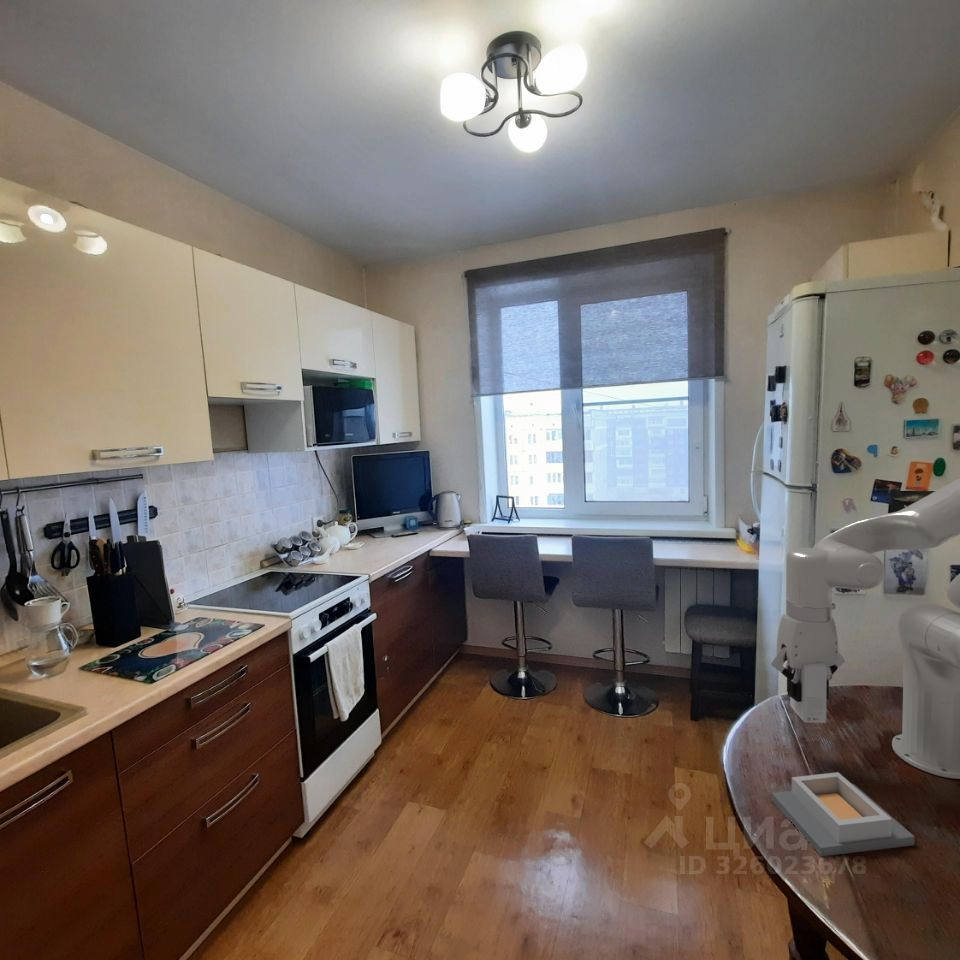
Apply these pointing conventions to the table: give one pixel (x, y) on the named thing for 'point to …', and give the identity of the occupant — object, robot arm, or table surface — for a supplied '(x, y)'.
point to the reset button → (839, 806)
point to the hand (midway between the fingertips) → (807, 696)
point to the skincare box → (812, 694)
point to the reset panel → (828, 828)
